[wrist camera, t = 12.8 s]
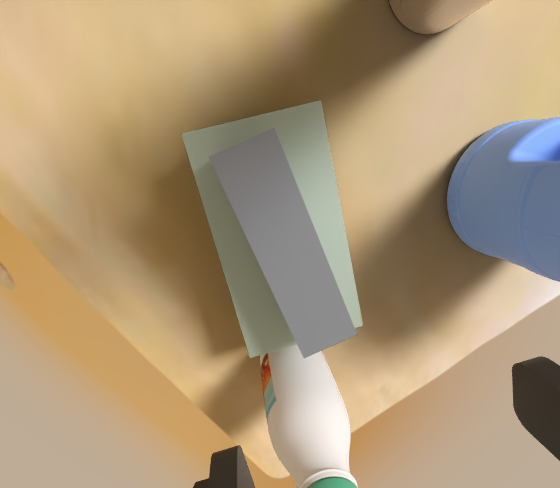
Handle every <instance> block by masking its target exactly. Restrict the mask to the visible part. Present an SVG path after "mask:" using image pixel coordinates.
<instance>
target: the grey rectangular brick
mask: <svg viewBox="0 0 560 488" xmlns="http://www.w3.org/2000/svg"><path fill="white" fill-rule="evenodd" d="M209 159H210V161H211V163H212V165H213V168H214V170H215V172H216V174H217V176H218V178H219V180H220V182H221V185H222V187H223V189H224V191H225V193H226V195H227V197H228V199H229V201H230V204H231V206H232V208H233V210H234V212H235V214H236V216H237V218H238V221H239V223H240V225H241V227H242V229H243V231H244V233H245V235H246V237H247V240H248V242H249V244H250V246H251V248H252V250H253V252H254V254H255V256H256V259H257V261H258V263H259V265H260V267H261V269H262V271H263V273H264V276H265V278H266V280H267V282H268V284H269V286H270V288H271V290H272V292H273V295H274V297H275V299H276V301H277V303H278V305H279V307H280V309H281V311H282V314H283V316H284V318H285V320H286V322H287V324H288V326H289V328H290V331H291V333H292V335H293V337H294V339H295V341H296V343H297V345H298V347H299V350H300V352H301V354H302V356H303V358H307V357H309V356H311V355H313V354H315V353H318V352H320V351H322V350H324V349H327V348H329V347H331V346H333V345H335V344H338V343H340V342H342V341H344V340H346V339H349V338H351V337H353V336H355V335H357V332H356V330H355V328H354V325H353V323H352V320H351V318H350V315H349V313H348V310H347V308H346V305H345V303H344V300H343V298H342V295H341V293H340V290H339V288H338V285H337V283H336V280H335V278H334V275H333V273H332V270H331V268H330V265H329V263H328V260H327V258H326V255H325V253H324V250H323V248H322V245H321V243H320V240H319V238H318V235H317V233H316V230H315V228H314V225H313V223H312V220H311V218H310V215H309V213H308V210H307V208H306V206H305V203H304V201H303V198H302V196H301V193H300V191H299V188H298V186H297V183H296V181H295V178H294V176H293V173H292V171H291V168H290V166H289V163H288V161H287V158H286V156H285V153H284V151H283V148H282V146H281V143H280V141H279V138H278V136H277V133H276V131H275V128H273V129H270V130H268V131H266V132H263V133H261V134H259V135H257V136H254V137H252V138H250V139H248V140H245V141H243V142H241V143H239V144H236V145H234V146H232V147H229V148H227V149H225V150H223V151H220V152H218V153H216V154H214V155H211V156H209Z"/></svg>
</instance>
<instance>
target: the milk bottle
mask: <svg viewBox="0 0 560 488" xmlns="http://www.w3.org/2000/svg"><path fill="white" fill-rule="evenodd" d="M260 366H261V376H262V385H263V394H264V402H265V410H266V418H267V424H268V430H269V435H270V439H271V442H272V445H273V448H274V450H275V452H276V454H277V456H278V458H279V460H280V461H281V462H282V464H283V465H284V467H285V468H286V469H287V471H288V472H289V473H290V475H291V476H292V478H293V480H294V482H295V484H296V486H297V488H358V487H357V483H356V480H355V479H354V477H352V475H351V474H350V471H349V449H350V423H349V418H348V414H347V410H346V407H345V405H344V402H343V399H342V397H341V394H340V392H339V389H338V387H337V385H336V382H335V380H334V378H333V375H332V373H331V371H330V368H329V366H328V364H327V362H326V359H325V357H324V355H323V352H322V351H320V352H318V353H315V354H313V355H311V356H309V357H307V358H303V356H302V354H301V352H300V350H299V347H298V345H295V346H291V347H288V348H284V349H281V350H277V351H274V352H270V353H267V354H263V355H260Z"/></svg>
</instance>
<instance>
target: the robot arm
mask: <svg viewBox="0 0 560 488" xmlns="http://www.w3.org/2000/svg"><path fill="white" fill-rule="evenodd" d="M490 1H492V0H389V3H390V5H391V8H392V10H393V12H394V14H395V15H396V17H397V18H398V20H399V21H400V22H401V23H402V24H403V25H404V26H405V27H406V28H408V29H410V30H412V31H413V32H416V33H420V34H434V33H439V32H441V31H443V30H445V29H447V28H449V27H451V26H452V25H454V24H455V23H457V22H459V21H460V20H462V19H463V18H465V17H466V16H468V15H470V14H471V13H473V12H475V11H476V10H478V9H479V8H481V7H483V6H484V5H486V4H487V3H489V2H490ZM512 377H513V378H512V379H513V405H514V410H515V413H516V415H517V417H518V419H519V420H520V422H521V423H522V425H523V426H524V427H525V428H526V429H527V430H528V432H530V433H531V434H532V435H533V436H534V437H535V438H536V439H537V440H538V441H539V442H540V443H541V444H542V445H543V446H544V447H546V448H547V449H548V450H549V451H550V452H551V453H552V454H553V455H554V456H555V457H556V458H557V459H559V461H560V366H559V365H558V364H556V363H555V362H553V361H551V360H550V359H548V358H545V357H537V358H533V359H530V360H526V361H523V362H520V363H517V364H514V365H513V367H512ZM210 465H211V466H210V476H209V478H208V479H205V480H202V481H198V482H196V483H195V485H194V487H193V488H255V486H254V482H253V479H252V477H251V474H250V471H249V468H248V466H247V462H246V460H245V457H244V454H243V451H242V448H241V446H240V445H238V446H235V447H232V448H228V449H225V450H222V451H219V452H215V453H213V454H212V457H211V464H210Z"/></svg>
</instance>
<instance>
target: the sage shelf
mask: <svg viewBox="0 0 560 488" xmlns="http://www.w3.org/2000/svg"><path fill="white" fill-rule="evenodd" d="M273 128H275V131H276V133H277V136H278V138H279V141H280V143H281V146H282V148H283V151H284V153H285V156H286V158H287V161H288V163H289V166H290V168H291V171H292V173H293V176H294V178H295V181H296V183H297V186H298V188H299V191H300V193H301V196H302V198H303V201H304V203H305V206H306V208H307V210H308V213H309V215H310V218H311V220H312V223H313V225H314V228H315V230H316V233H317V235H318V238H319V240H320V243H321V245H322V248H323V250H324V253H325V255H326V258H327V260H328V263H329V265H330V268H331V270H332V273H333V275H334V278H335V280H336V283H337V285H338V288H339V290H340V293H341V295H342V298H343V300H344V303H345V305H346V308H347V310H348V313H349V315H350V318H351V320H352V323H353V325H354V328H358V327H361V326H363V322H362V317H361V311H360V306H359V301H358V295H357V290H356V284H355V279H354V274H353V268H352V263H351V257H350V252H349V247H348V241H347V236H346V231H345V225H344V220H343V214H342V209H341V204H340V198H339V193H338V187H337V182H336V177H335V171H334V166H333V160H332V155H331V150H330V144H329V139H328V133H327V128H326V123H325V117H324V112H323V107H322V101H321V100H319V101H315V102H310V103H306V104H302V105H298V106H294V107H290V108H285V109H281V110H277V111H273V112H269V113H265V114H260V115H256V116H252V117H248V118H244V119H240V120H235V121H231V122H227V123H223V124H219V125H215V126H210V127H206V128H202V129H198V130H194V131H190V132H185V133H181V135H182V139H183V142H184V145H185V148H186V152H187V155H188V158H189V161H190V165H191V168H192V171H193V174H194V178H195V181H196V184H197V187H198V191H199V194H200V197H201V200H202V204H203V207H204V210H205V213H206V217H207V220H208V223H209V226H210V230H211V233H212V236H213V239H214V243H215V246H216V249H217V252H218V256H219V259H220V262H221V265H222V269H223V272H224V275H225V278H226V282H227V285H228V288H229V292H230V295H231V298H232V301H233V305H234V308H235V311H236V314H237V318H238V321H239V324H240V327H241V331H242V334H243V337H244V340H245V344H246V347H247V350H248V353H249V357H250V358H253V357H256V356H260V355H263V354H267V353H270V352H274V351H277V350H281V349H284V348H288V347H291V346H295V345H297V343H296V341H295V339H294V337H293V335H292V333H291V331H290V328H289V326H288V324H287V322H286V320H285V318H284V316H283V314H282V311H281V309H280V307H279V305H278V303H277V301H276V299H275V297H274V295H273V292H272V290H271V288H270V286H269V284H268V282H267V280H266V278H265V276H264V273H263V271H262V269H261V267H260V265H259V263H258V261H257V259H256V256H255V254H254V252H253V250H252V248H251V246H250V244H249V242H248V240H247V237H246V235H245V233H244V231H243V229H242V227H241V225H240V223H239V221H238V218H237V216H236V214H235V212H234V210H233V208H232V206H231V204H230V201H229V199H228V197H227V195H226V193H225V191H224V189H223V187H222V185H221V182H220V180H219V178H218V176H217V174H216V172H215V170H214V168H213V165H212V163H211V161H210V159H209V156H211V155H214V154H216V153H218V152H220V151H223V150H225V149H227V148H229V147H232V146H234V145H236V144H239V143H241V142H243V141H245V140H248V139H250V138H252V137H254V136H257V135H259V134H261V133H263V132H266V131H268V130H270V129H273Z"/></svg>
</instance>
